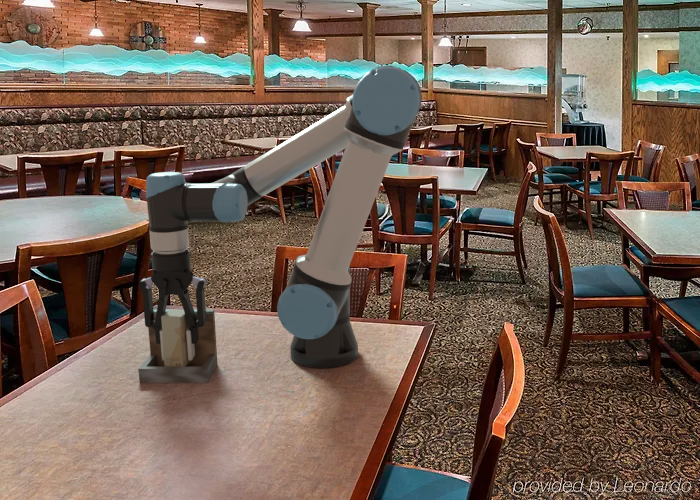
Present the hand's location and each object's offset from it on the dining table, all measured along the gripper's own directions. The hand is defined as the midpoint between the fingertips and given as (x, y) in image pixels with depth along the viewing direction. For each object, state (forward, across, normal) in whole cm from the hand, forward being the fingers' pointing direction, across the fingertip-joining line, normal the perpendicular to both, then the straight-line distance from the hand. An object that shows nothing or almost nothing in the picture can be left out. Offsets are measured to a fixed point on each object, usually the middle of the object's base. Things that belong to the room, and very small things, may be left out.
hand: (178, 357), depth 143 cm
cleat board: (+4, 0, 0) cm, 4 cm away
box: (+1, 0, 0) cm, 1 cm away
